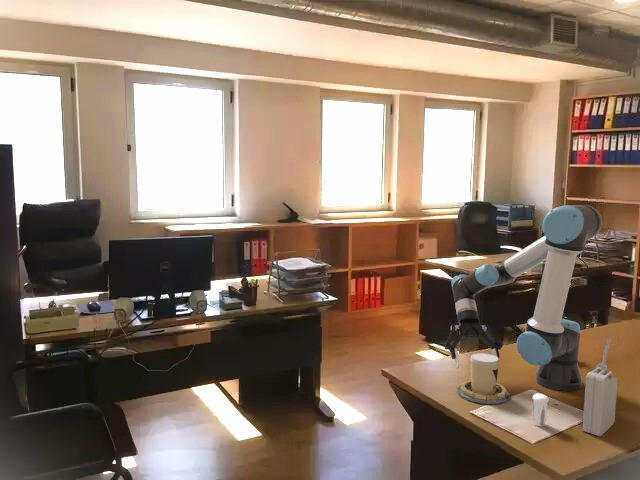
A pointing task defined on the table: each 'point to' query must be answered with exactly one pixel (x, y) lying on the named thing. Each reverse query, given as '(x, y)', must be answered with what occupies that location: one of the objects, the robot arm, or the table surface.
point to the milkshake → (539, 409)
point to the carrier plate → (497, 398)
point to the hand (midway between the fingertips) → (477, 367)
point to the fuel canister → (600, 398)
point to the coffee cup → (484, 373)
